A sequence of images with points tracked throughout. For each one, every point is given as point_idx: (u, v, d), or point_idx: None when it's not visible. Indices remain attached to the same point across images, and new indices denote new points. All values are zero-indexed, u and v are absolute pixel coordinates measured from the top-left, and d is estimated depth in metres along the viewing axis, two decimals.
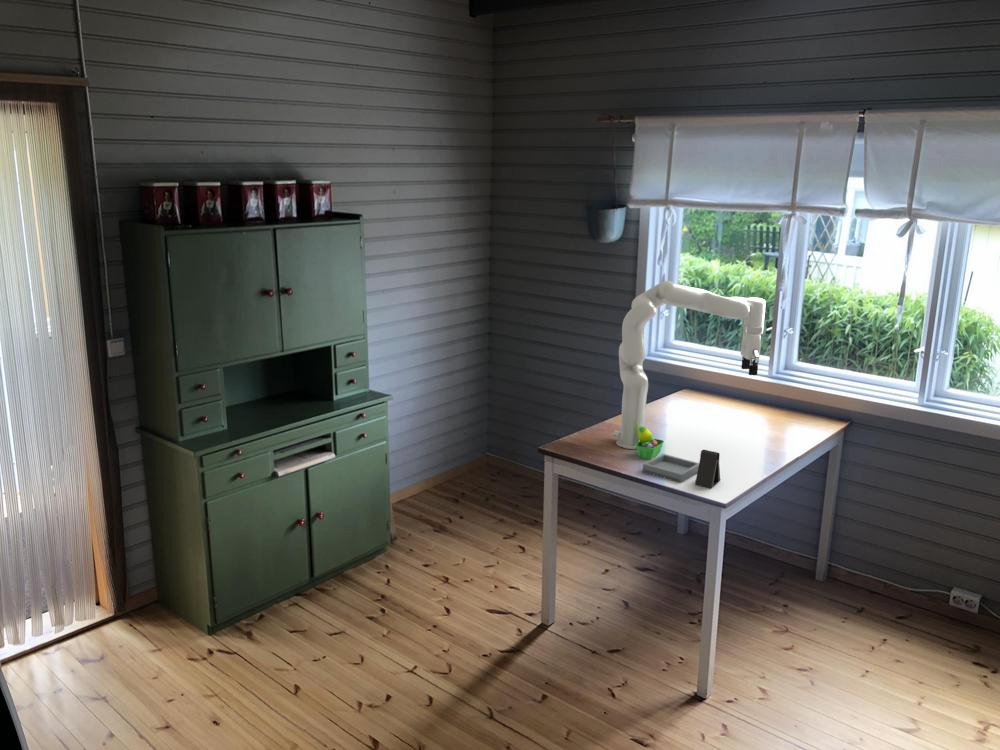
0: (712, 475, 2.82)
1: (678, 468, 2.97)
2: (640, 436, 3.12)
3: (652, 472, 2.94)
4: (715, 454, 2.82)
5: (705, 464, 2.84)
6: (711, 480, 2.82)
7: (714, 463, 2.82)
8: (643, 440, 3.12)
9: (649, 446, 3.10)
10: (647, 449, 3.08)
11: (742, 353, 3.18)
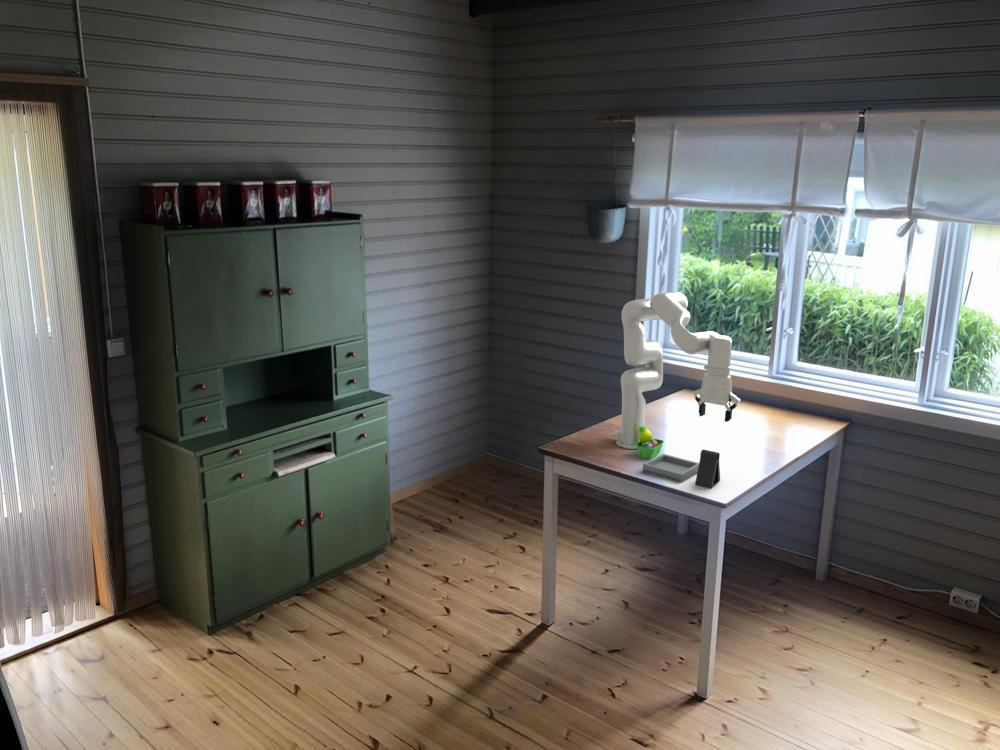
0: (712, 475, 2.82)
1: (678, 468, 2.97)
2: (640, 436, 3.12)
3: (652, 472, 2.94)
4: (715, 454, 2.82)
5: (705, 464, 2.84)
6: (711, 480, 2.82)
7: (714, 463, 2.82)
8: (643, 440, 3.12)
9: (649, 446, 3.10)
10: (647, 449, 3.08)
11: (708, 399, 2.80)
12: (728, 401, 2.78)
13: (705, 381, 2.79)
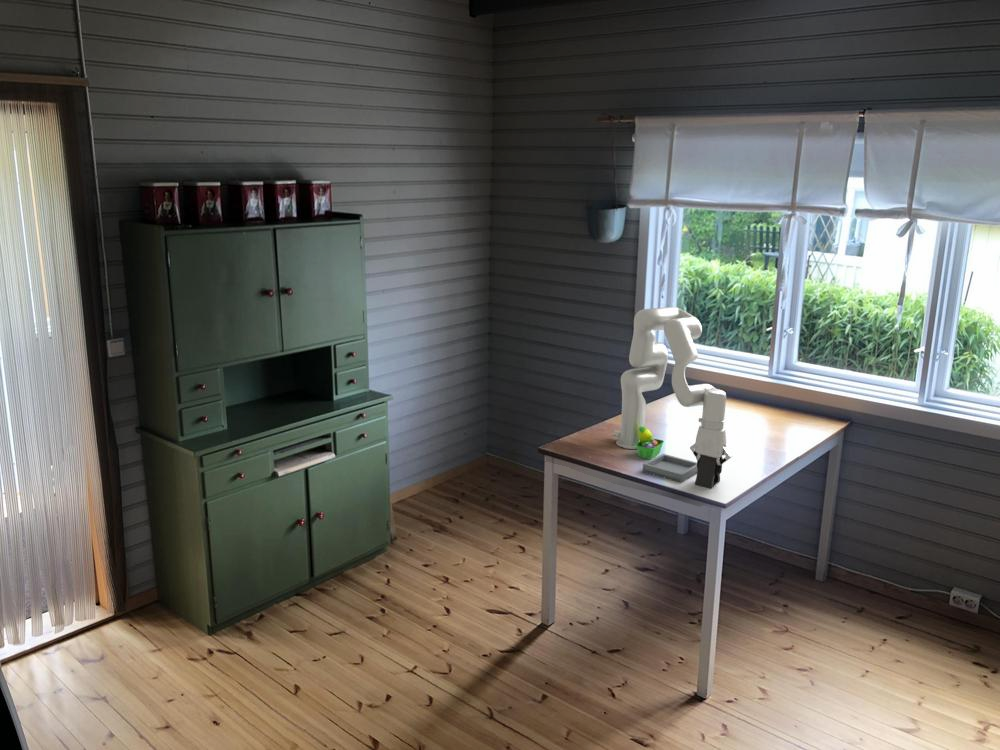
0: (712, 475, 2.82)
1: (678, 468, 2.97)
2: (640, 436, 3.12)
3: (652, 472, 2.94)
4: None
5: (705, 464, 2.84)
6: (711, 480, 2.82)
7: (714, 463, 2.82)
8: (643, 440, 3.12)
9: (649, 446, 3.10)
10: (647, 449, 3.08)
11: (702, 452, 2.83)
12: None
13: (700, 434, 2.83)
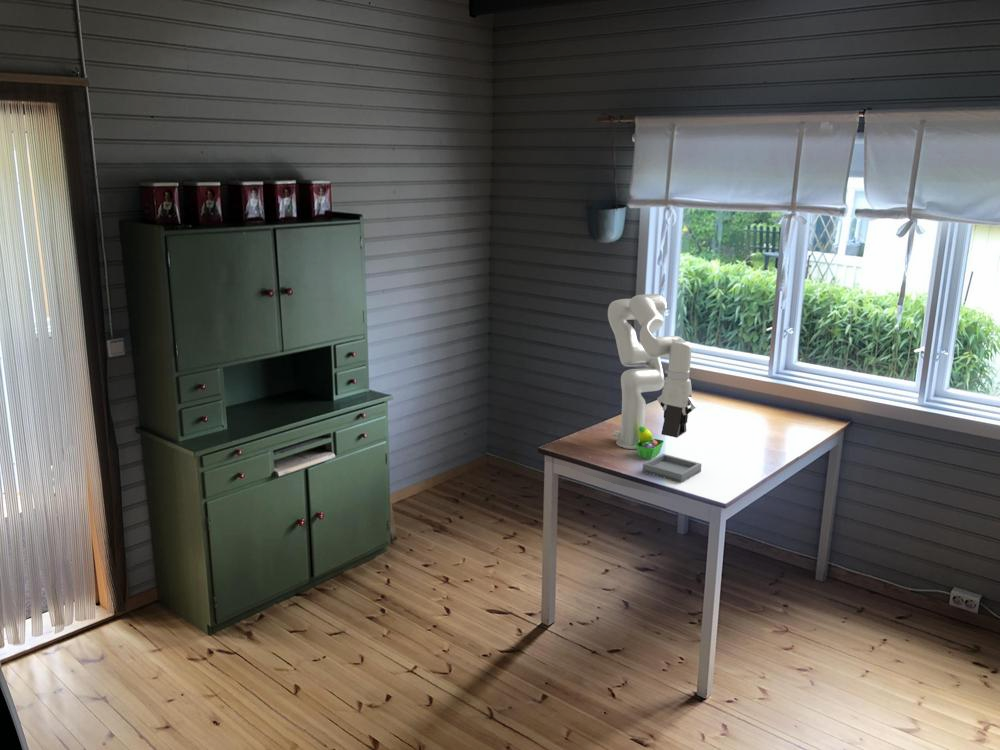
0: (678, 424, 2.89)
1: (678, 468, 2.97)
2: (640, 436, 3.12)
3: (652, 472, 2.94)
4: None
5: (671, 414, 2.90)
6: (677, 429, 2.89)
7: (680, 413, 2.89)
8: (643, 440, 3.12)
9: (649, 446, 3.10)
10: (647, 449, 3.08)
11: (669, 402, 2.90)
12: None
13: (666, 384, 2.89)
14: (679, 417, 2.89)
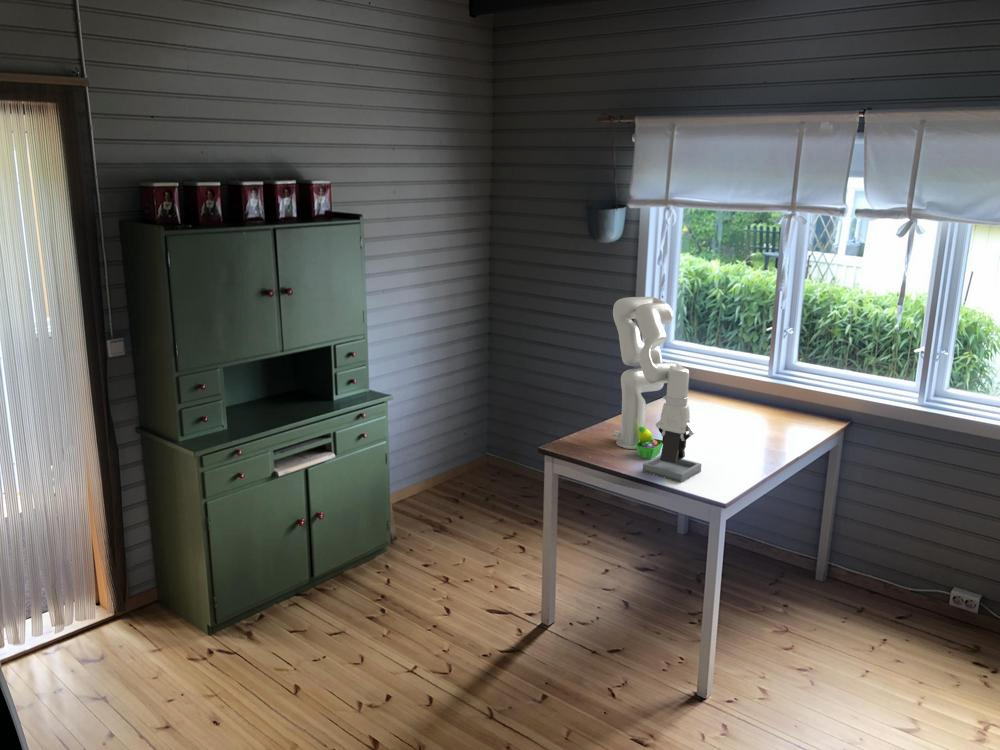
0: (676, 450, 2.91)
1: (678, 468, 2.97)
2: (640, 436, 3.12)
3: (652, 472, 2.94)
4: None
5: (669, 440, 2.93)
6: (675, 455, 2.91)
7: (678, 439, 2.91)
8: (643, 440, 3.12)
9: (649, 446, 3.10)
10: (647, 449, 3.08)
11: (667, 428, 2.92)
12: (684, 431, 2.91)
13: (664, 410, 2.92)
14: (677, 443, 2.91)
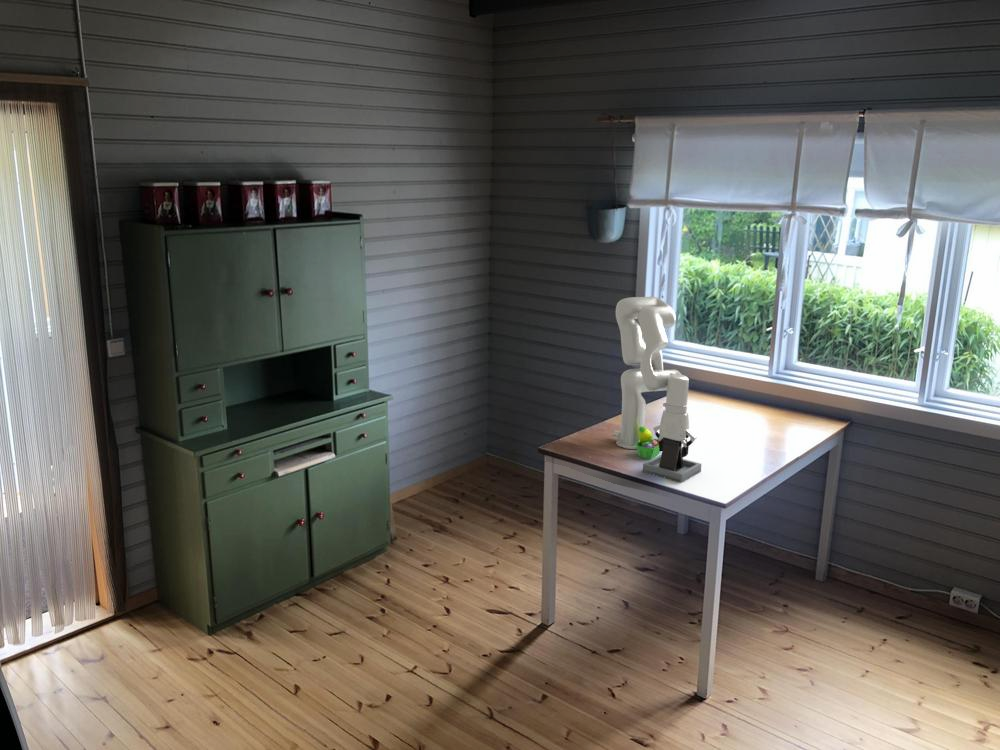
0: (674, 461, 2.92)
1: None
2: (640, 436, 3.12)
3: (652, 472, 2.94)
4: (677, 441, 2.92)
5: (668, 450, 2.94)
6: (673, 466, 2.92)
7: (676, 449, 2.93)
8: (643, 440, 3.12)
9: (649, 446, 3.10)
10: (647, 449, 3.08)
11: (666, 435, 2.93)
12: (685, 437, 2.92)
13: (664, 418, 2.92)
14: (676, 453, 2.92)
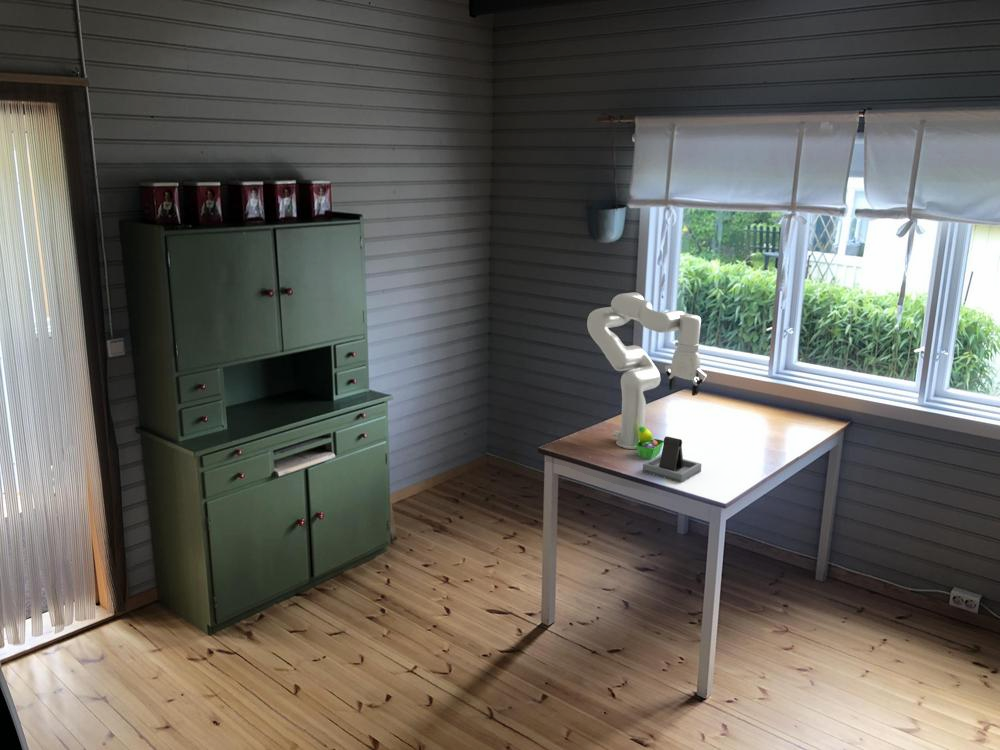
0: (674, 461, 2.92)
1: None
2: (640, 436, 3.12)
3: (652, 472, 2.94)
4: (677, 441, 2.92)
5: (668, 450, 2.94)
6: (673, 466, 2.92)
7: (676, 449, 2.93)
8: (643, 440, 3.12)
9: (649, 446, 3.10)
10: (647, 449, 3.08)
11: (677, 374, 2.99)
12: (696, 376, 2.97)
13: (675, 357, 2.98)
14: (676, 453, 2.92)
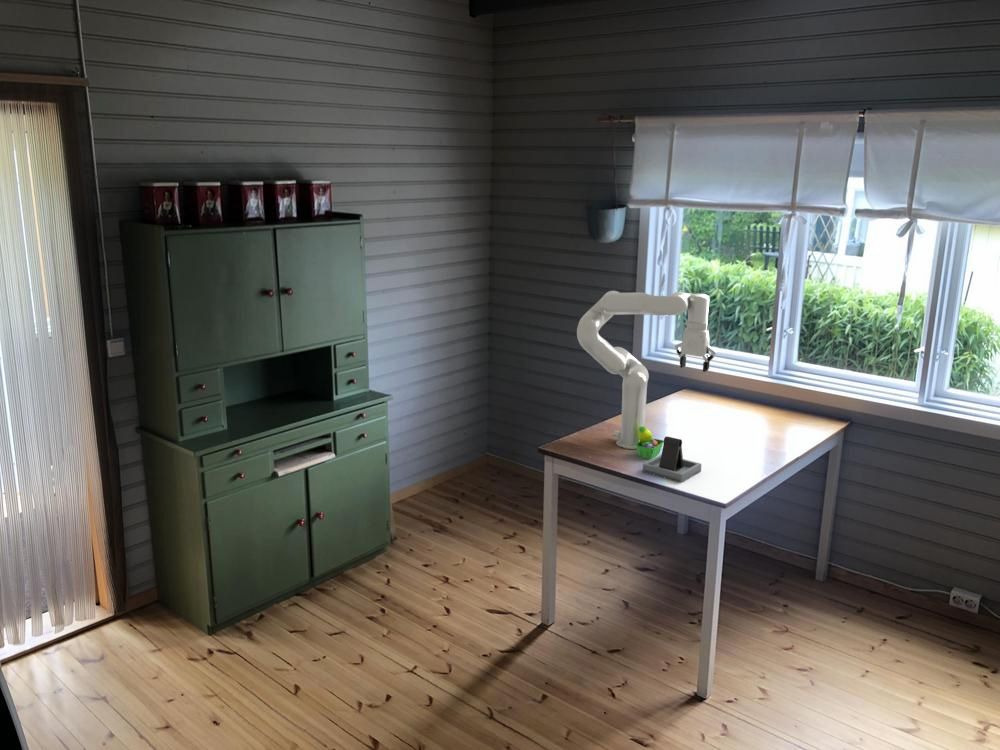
0: (674, 461, 2.92)
1: None
2: (640, 436, 3.12)
3: (652, 472, 2.94)
4: (677, 441, 2.92)
5: (668, 450, 2.94)
6: (673, 466, 2.92)
7: (676, 449, 2.93)
8: (643, 440, 3.12)
9: (649, 446, 3.10)
10: (647, 449, 3.08)
11: (688, 351, 3.10)
12: (706, 353, 3.09)
13: (685, 335, 3.09)
14: (676, 453, 2.92)
